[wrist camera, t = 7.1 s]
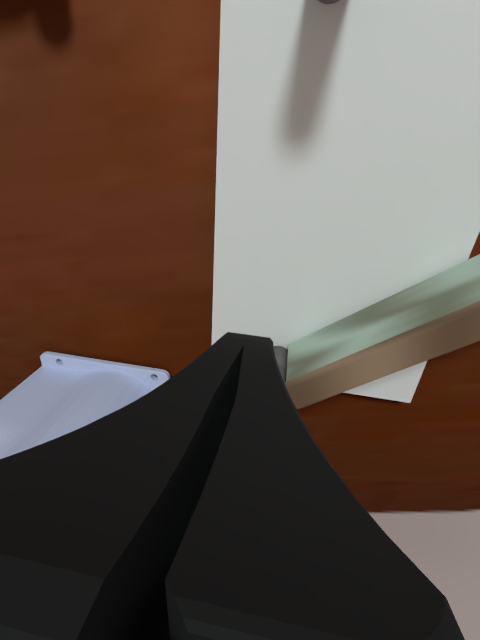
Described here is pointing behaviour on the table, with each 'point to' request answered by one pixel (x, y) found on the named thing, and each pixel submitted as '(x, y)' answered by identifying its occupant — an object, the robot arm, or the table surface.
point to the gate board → (342, 161)
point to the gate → (385, 336)
